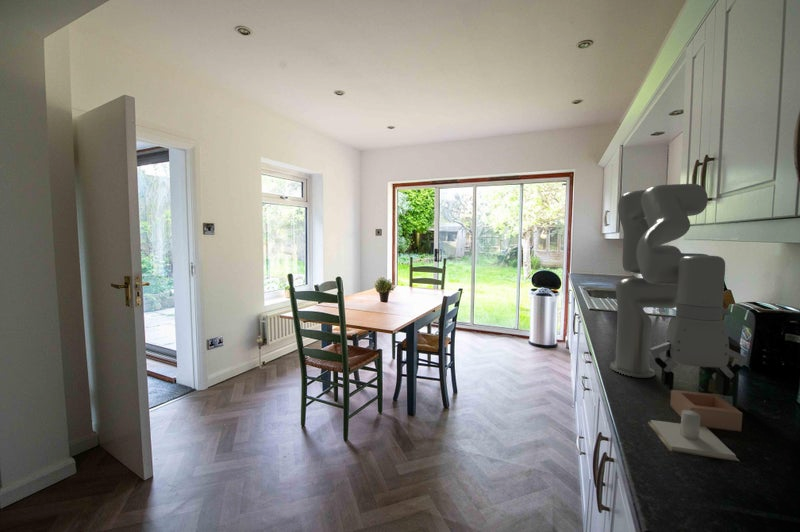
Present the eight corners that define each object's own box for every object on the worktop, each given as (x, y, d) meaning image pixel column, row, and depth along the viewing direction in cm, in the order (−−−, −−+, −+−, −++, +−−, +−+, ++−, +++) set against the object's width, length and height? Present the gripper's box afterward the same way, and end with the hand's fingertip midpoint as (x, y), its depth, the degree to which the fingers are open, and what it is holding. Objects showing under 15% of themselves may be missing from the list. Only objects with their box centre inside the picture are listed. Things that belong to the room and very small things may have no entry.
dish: (670, 407, 93) (671, 389, 92) (715, 412, 90) (717, 394, 90) (689, 427, 83) (690, 407, 83) (740, 434, 81) (742, 413, 80)
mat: (647, 424, 85) (647, 421, 85) (706, 431, 82) (706, 429, 82) (669, 453, 74) (669, 450, 73) (739, 463, 70) (740, 461, 70)
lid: (650, 423, 84) (651, 399, 84) (705, 430, 81) (707, 405, 81) (671, 449, 74) (673, 422, 73) (735, 459, 71) (737, 430, 70)
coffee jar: (696, 393, 101) (701, 330, 100) (734, 401, 96) (739, 335, 95) (697, 406, 94) (702, 338, 92) (738, 415, 89) (744, 344, 87)
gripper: (736, 311, 76) (731, 388, 77) (645, 307, 81) (641, 379, 82) (761, 319, 69) (755, 403, 70) (658, 313, 74) (654, 392, 75)
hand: (693, 390), depth 76 cm, fingers open, 9 cm apart
